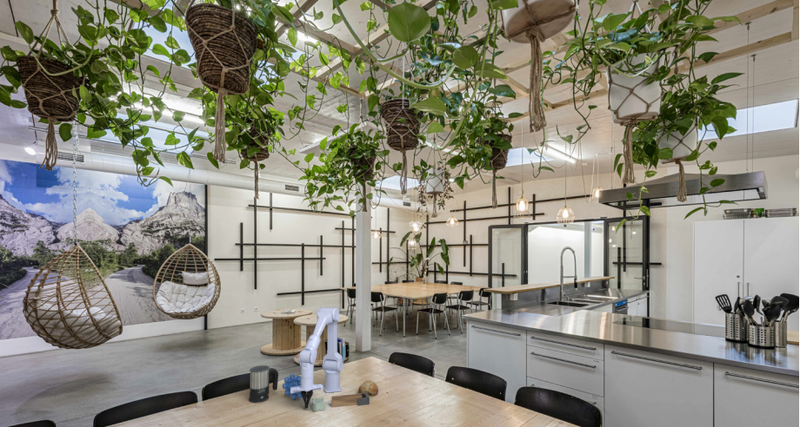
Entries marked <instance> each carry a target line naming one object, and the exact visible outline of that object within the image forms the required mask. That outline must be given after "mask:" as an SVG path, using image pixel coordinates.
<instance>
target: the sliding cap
mask: <svg viewBox="0 0 800 427" xmlns="http://www.w3.org/2000/svg"><path fill="white" fill-rule="evenodd" d="M324 399H325V398H324V397H316V398H311V409H312V412H319V411H325V410H326V402H324Z"/></svg>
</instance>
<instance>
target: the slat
mask: <svg viewBox="0 0 800 427" xmlns="http://www.w3.org/2000/svg"><path fill="white" fill-rule="evenodd" d="M358 398H362V395H361V394H359V393H354V394H343V395H341V394H340V395H332V396H331V408H340V407H351V406H358Z"/></svg>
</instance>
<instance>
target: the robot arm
mask: <svg viewBox="0 0 800 427" xmlns="http://www.w3.org/2000/svg"><path fill="white" fill-rule="evenodd" d="M316 320H317V321H316V323H315V327H314V330H313V333H312V334H311V335H309V337H308V339H307V341H306V344H305V345H304V346H305V347H304V349H303V350H301V351H300V352H299V354H298V361H299V367H300V376H301V386H297V387H292V388H291V389H290V393H295V392H301V395H302V398H301V399H302V401H303V403H304V409H308V408H309V405H310V401H311V400H312V397H313V394H314V391H323V390H324V391H325V393H326V394H327V393H334V392H335V393H336V392H341V391H342V389H341V386H340V383H341V381H340V379H341V378H340V377H341V375H340V374H341V373H340V372H342V371H343V369H344V360H343V356H342V355H341V354H340V353H339V352H338V323H339V321H340V311H339V309H338V307H322V306H320V307H319V308H318V309H317V312H316ZM326 326H327V331H326V332H327V353H326V354H325V355H323V358H322V359H323V360H322V369H323V371H324V373H325V385H324V384H323V383H321V384H320V383H319V384H314V377H315V376H314V375H315V374H314V371H315V369H314V367H315V362H316V360H317V357H318V356H317V354H318V348H319V346H320V343H321V336H322V333H323V331H324V330H325V328H326Z"/></svg>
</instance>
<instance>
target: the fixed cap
mask: <svg viewBox="0 0 800 427" xmlns="http://www.w3.org/2000/svg"><path fill="white" fill-rule="evenodd" d="M360 394H361V395H362V398H358V405H357V406H358V407H359V406H366V405H368V406H369V405H370V397H369V396H368V395H367V393H360Z"/></svg>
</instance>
